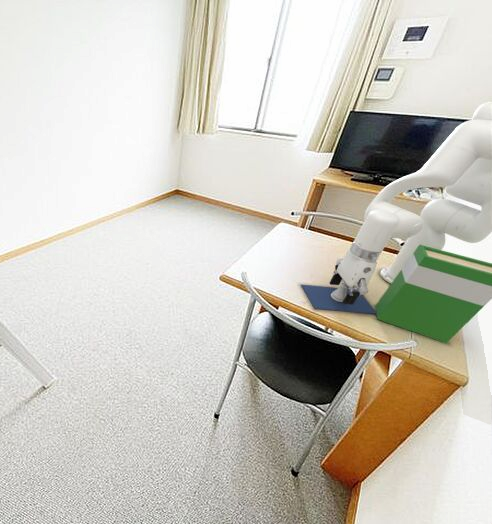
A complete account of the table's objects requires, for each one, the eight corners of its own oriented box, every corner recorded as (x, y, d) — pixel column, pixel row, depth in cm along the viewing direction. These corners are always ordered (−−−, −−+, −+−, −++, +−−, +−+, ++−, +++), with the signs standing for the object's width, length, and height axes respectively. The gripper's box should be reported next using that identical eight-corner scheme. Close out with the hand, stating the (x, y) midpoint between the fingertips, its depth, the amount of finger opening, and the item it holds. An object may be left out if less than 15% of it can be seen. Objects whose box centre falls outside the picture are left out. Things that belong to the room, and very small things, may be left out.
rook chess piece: (331, 300, 101) (341, 282, 96) (329, 292, 104) (339, 274, 100) (346, 304, 100) (357, 285, 95) (343, 296, 103) (354, 277, 99)
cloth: (357, 290, 107) (358, 289, 107) (377, 314, 97) (377, 313, 97) (301, 285, 107) (301, 284, 107) (314, 308, 98) (314, 307, 97)
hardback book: (440, 327, 94) (499, 265, 80) (446, 343, 88) (510, 279, 75) (375, 305, 100) (419, 244, 86) (377, 319, 95) (424, 256, 81)
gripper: (395, 268, 84) (365, 312, 94) (362, 237, 98) (339, 278, 108) (367, 266, 84) (341, 310, 94) (339, 235, 98) (318, 276, 108)
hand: (340, 293), depth 101 cm, fingers open, 9 cm apart
